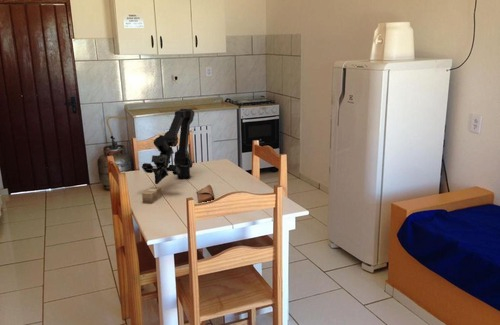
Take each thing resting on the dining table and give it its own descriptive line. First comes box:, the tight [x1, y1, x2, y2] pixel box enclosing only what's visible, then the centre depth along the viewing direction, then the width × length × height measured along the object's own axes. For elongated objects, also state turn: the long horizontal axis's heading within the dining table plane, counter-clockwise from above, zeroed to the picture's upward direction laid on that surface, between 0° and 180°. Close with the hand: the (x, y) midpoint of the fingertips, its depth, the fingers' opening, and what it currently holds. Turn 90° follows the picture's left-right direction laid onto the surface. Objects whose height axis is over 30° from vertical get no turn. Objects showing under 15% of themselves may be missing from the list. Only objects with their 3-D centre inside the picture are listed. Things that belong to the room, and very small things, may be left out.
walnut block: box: [141, 186, 163, 205], centre depth 214 cm, size 5×5×10 cm
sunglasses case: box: [196, 184, 216, 204], centre depth 218 cm, size 18×7×7 cm
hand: (156, 183), depth 217 cm, fingers closed
